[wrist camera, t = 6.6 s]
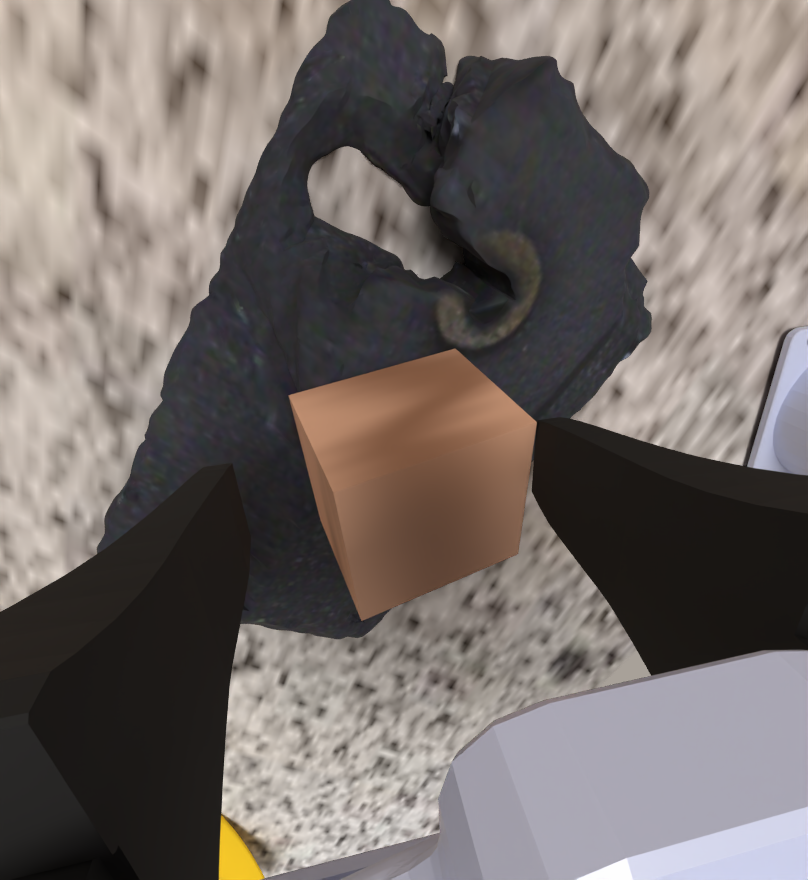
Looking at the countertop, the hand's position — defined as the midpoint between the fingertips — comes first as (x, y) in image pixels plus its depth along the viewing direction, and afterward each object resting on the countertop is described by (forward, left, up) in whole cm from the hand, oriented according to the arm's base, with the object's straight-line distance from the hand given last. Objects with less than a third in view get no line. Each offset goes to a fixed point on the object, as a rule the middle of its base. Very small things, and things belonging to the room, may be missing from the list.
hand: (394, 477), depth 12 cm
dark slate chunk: (0, +1, -8) cm, 8 cm away
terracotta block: (0, +1, -4) cm, 4 cm away
